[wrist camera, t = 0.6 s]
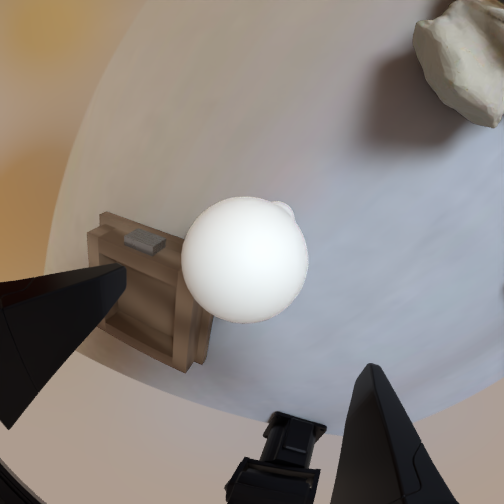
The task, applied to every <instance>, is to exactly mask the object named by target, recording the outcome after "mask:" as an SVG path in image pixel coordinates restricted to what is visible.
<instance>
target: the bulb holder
mask: <svg viewBox="0 0 504 504" xmlns="http://www.w3.org/2000/svg"><path fill="white" fill-rule="evenodd" d="M183 243H184V239H182V238H179V237H176V236H173V235H170V234H168V233H165V232H162V231H159V230H156V229H153V228H151V227H148V226H145V225H142V224H140V223H137V222H134V221H131V220H128V219H126V218H123V217H120V216H117V215H115V214H112V213H109V212H104V213H102V214H100V226H99V227H97V228H95V229H93V230H91V231H89V232H87V244H88V259H89V267H94V266H100V265H106V264H111V263H119V264H121V265H123V266H125V267H126V269H127V286H126V289H125V291H124V292H123V294H122V295H121V296H120V298H119V299H118V300H117V302H116V303H115V304H114V306H113V307H112V308H111V309H110V311H109V312H108V314H107V315H106V316H105V317H104V319H103V320H102V321H101V322H100V323H99V324H98V325H97V327H99V328H100V329H102V330H104V331H105V332H107V333H109V334H111V335H112V336H114V337H116V338H117V339H119V340H121V341H123V342H124V343H126V344H128V345H130V346H132V347H133V348H135V349H137V350H139V351H141V352H143V353H145V354H147V355H149V356H150V357H152V358H154V359H156V360H158V361H160V362H162V363H164V364H166V365H168V366H170V367H173V368H175V369H177V370H179V371H181V372H183V373H185V374H186V372H187V371H188V369H189V368H190V366H191V365H192V363H193V362H196V363H199V364H201V365H202V364H203V363H204V361H205V360H206V356H207V350H208V344H209V338H210V332H211V327H212V321H213V315H212V314H211V313H209V312H207V311H206V310H205V309H204V308H203V307H201V306H200V305H199V304H198V302H197V301H196V300H195V299H194V297H193V296H192V294H191V293H190V291H189V289H188V287H187V285H186V283H185V280H184V277H183V272H182V265H181V252H182V247H183Z"/></svg>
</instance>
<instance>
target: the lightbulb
mask: <svg viewBox="0 0 504 504" xmlns="http://www.w3.org/2000/svg"><path fill="white" fill-rule="evenodd" d="M181 265H182V272H183V277H184V280H185V283H186V285H187V287H188V289H189V291H190V293H191V294H192V296H193V297H194V299H195V300H196V301H197V302H198V304H199V305H200V306H201V307H203V308H204V309H205V310H206V311H207V312H209V313H211V314H212V315H214V316H216V317H218V318H220V319H223V320H226V321H230V322H233V323H242V324H245V323H256V322H261V321H264V320H268V319H270V318H272V317H274V316H276V315H277V314H279V313H280V312H282V311H283V310H284V309H286V308H287V307H288V306H289V305H290V304H291V303H292V302H293V300H294V299H295V298H296V297H297V295H298V294H299V293H300V291H301V289H302V287H303V284H304V282H305V279H306V275H307V270H308V251H307V247H306V243H305V239H304V236H303V234H302V232H301V230H300V228H299V226H298V225H297V223H296V222H295V216H294V213H293V211H292V209H291V208H290V207H289V206H288V205H287V204H285V203H283V202H280V201H273V202H269V201H267V200H264V199H261V198H255V197H232V198H229V199H225V200H222V201H220V202H218V203H216V204H214V205H212V206H210V207H209V208H207V209H206V210H205V211H204V212H202V213H201V214H200V215H199V216H198V217H197V219H196V220H195V221H194V223H193V224H192V226H191V227H190V228H189V230H188V233H187V235H186V237H185V240H184V243H183V247H182V252H181Z"/></svg>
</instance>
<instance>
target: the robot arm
mask: <svg viewBox="0 0 504 504" xmlns="http://www.w3.org/2000/svg"><path fill="white" fill-rule="evenodd" d="M126 286H127V269H126V267H125V266H123V265H121V264H119V263H111V264H106V265H100V266H94V267H89V268H83V269H77V270H72V271H66V272H61V273H55V274H49V275H44V276H38V277H35V278H34V277H33V278H28V279H22V280H16V281H8V282H0V421H1V422H2V423H3V425H4V426H5V427H6V428H7V429H8V430H9V429H10V428H11V427H12V426H13V425H14V423H15V422H16V421H17V420H18V418H19V417H20V416H21V414H22V413H23V412H24V411H25V409H26V408H27V407H28V405H29V404H30V403H31V402H32V401H33V399H34V398H35V396H37V394H38V392H40V390H41V389H42V388H43V387H44V386H45V385H46V383H47V382H48V381H49V380H50V379H51V377H52V376H53V375H54V374H55V373H56V371H57V370H58V369H59V368H60V367H61V366H62V364H63V363H64V362H65V361H66V360H67V359H68V358H69V356H70V355H71V354H72V353H73V352H74V351H75V350H76V348H77V347H78V346H79V345H80V344H81V343H82V342H83V341H84V340H85V338H86V337H87V336H88V335H89V334H90V333H91V332H92V331H93V330H94V329H95V327H96V326H97V325H98V324H99V323H100V322H101V321H102V320H103V319H104V317H105V316H106V315H107V314H108V312H109V311H110V309H111V308H112V307H113V306H114V304H115V303H116V302H117V300H118V299H119V298H120V296H121V295H122V294H123V292H124V291H125V289H126ZM326 430H327V427H326V426H325V425H321V424H317V423H314V422H310V421H307V420H303V419H300V418H297V417H293V416H290V415H287V414H284V413H281V412H276V413H275V414H274V416H273V418H272V420H271V421H270V423H269V425H268V427H267V429H266V430H265V432H264V434H263V437H265V438H267V441H266V444H265V447H264V449H263V452H262V455H261V457H260V460H254V459H250V458H248V457H244V459H243V461H242V462H240V464H239V466H238V467H237V469H236V471H235V472H234V474H233V476H232V478H231V479H230V480H229V481H228V483H227V484H226V485H225V488H224V489H225V490H226V502H228V503H227V504H313V502H314V498H315V494H316V490H317V485H318V479H319V475H320V470H321V469H309V465H310V461H311V456H312V452H313V448H314V444H315V443H316V442H317V441H318V440H319V438H320V437H321V436H322V435H323V434H324V433H325V432H326ZM310 487H311V488H310ZM0 504H46V503H45V502H44V501H43V500H42V499H41V498H40V497H38V496H37V495H36V494H35V493H34V492H33V491H32V490H31V489H30V488H29V487H28V486H27V485H25V484H24V483H23V482H22V481H21V480H20V479H19V478H18V477H17V476H16V475H15V474H14V473H13V472H12V471H11V469H9V467H8V466H7V465H6V464H5V463H4V462H3V461H2V460H1V458H0ZM330 504H459V503H458V502H457V501H456V499H455V498H454V496H453V495H452V493H451V492H450V490H449V488H448V487H447V485H446V484H445V482H444V480H443V478H442V477H441V475H440V474H439V472H438V470H437V469H436V467H435V465H434V464H433V462H432V460H431V458H430V457H429V454H428V453H427V451H426V449H425V447H424V445H423V443H421V439H420V437H419V435H418V434H417V432H416V430H415V428H414V426H413V424H412V422H411V420H410V418H409V417H408V415H407V413H406V411H405V409H404V407H403V406H402V404H401V402H400V400H399V398H398V397H397V395H396V393H395V391H394V389H393V388H392V386H391V384H390V382H389V381H388V379H387V377H386V375H385V374H384V372H383V370H382V368H381V367H380V366H379V365H376V364H373V363H368V364H367V365H366V367H365V368H364V369H363V371H362V372H361V374H360V375H359V376H358V378H357V380H356V382H355V385H354V389H353V394H352V398H351V402H350V406H349V410H348V414H347V418H346V422H345V428H344V435H343V441H342V448H341V453H340V459H339V464H338V469H337V475H336V479H335V484H334V489H333V493H332V498H331V503H330Z"/></svg>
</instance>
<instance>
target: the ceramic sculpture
mask: <svg viewBox="0 0 504 504" xmlns="http://www.w3.org/2000/svg"><path fill="white" fill-rule="evenodd" d="M413 47H414V49H415V52H416V55H417V58H418V60H419V62H420V64H421V66H422V68H423V71H424V76H425V79H426V81H427V82H428V84H429V85H430V86H431V88H432V89H433V90H434V91H435V92H436V94H437V95H438V97H439V99H440V100H441V101H442V102H443V103H444V104H445V105H447V106H448V107H450V108H453V109H455V110H456V111H457V112H458V113H460V114H461V115H462V116H464V117H465V118H466V119H467V120H469V121H471V122H472V123H474V124H477V125H481V126H486V127H490V128H495V127H497V125H498V123H499V122H500V121H501V118H502V115H503V114H504V0H458V1H455V2H453V3H451V4H450V5H449V7H448V9H447V10H445V12H444V13H443V14H442V15H441V16H440V17H437V18H436V19H434V20H423V21H419V22H417V23H416V25H415V30H414V34H413Z"/></svg>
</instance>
